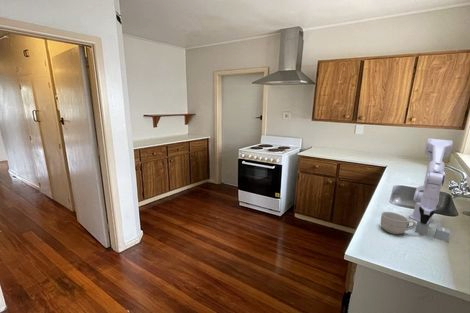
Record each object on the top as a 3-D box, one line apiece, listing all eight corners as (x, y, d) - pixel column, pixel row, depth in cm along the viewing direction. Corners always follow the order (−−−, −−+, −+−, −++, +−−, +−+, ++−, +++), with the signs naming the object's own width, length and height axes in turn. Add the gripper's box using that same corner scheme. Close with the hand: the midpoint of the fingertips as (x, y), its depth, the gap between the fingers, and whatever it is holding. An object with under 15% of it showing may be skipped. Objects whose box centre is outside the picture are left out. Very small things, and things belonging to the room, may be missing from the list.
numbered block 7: (398, 222, 119) (400, 214, 118) (408, 226, 117) (410, 217, 115) (397, 226, 116) (399, 217, 115) (407, 229, 113) (410, 221, 112)
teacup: (377, 231, 111) (380, 216, 109) (380, 222, 119) (383, 208, 117) (413, 242, 102) (417, 226, 101) (413, 232, 111) (417, 217, 109)
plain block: (415, 228, 115) (417, 220, 114) (426, 231, 112) (429, 223, 111) (414, 232, 111) (416, 223, 110) (426, 235, 108) (428, 227, 107)
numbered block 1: (434, 234, 110) (437, 225, 109) (447, 238, 107) (449, 229, 106) (434, 238, 107) (437, 229, 106) (447, 242, 104) (450, 233, 103)
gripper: (420, 190, 115) (414, 214, 118) (418, 199, 104) (411, 225, 107) (438, 194, 110) (431, 219, 114) (438, 204, 100) (431, 231, 103)
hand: (423, 223), depth 110 cm, fingers closed
